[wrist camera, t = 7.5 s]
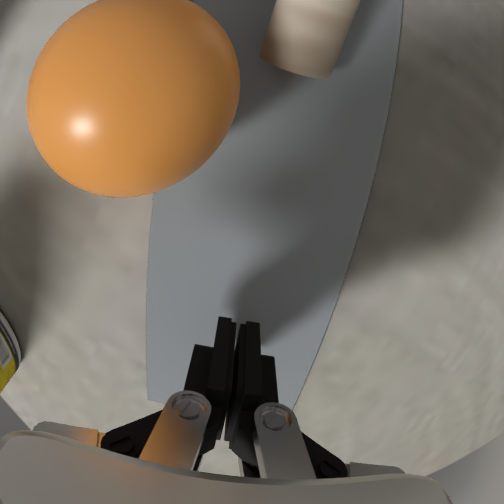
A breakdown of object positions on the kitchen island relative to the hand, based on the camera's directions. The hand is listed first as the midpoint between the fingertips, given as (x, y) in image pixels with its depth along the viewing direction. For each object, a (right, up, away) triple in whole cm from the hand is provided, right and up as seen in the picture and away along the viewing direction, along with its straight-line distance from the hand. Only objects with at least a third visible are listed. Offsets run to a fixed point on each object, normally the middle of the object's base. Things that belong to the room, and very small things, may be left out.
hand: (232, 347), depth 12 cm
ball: (-2, +8, -5) cm, 10 cm away
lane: (+1, +5, -1) cm, 5 cm away
